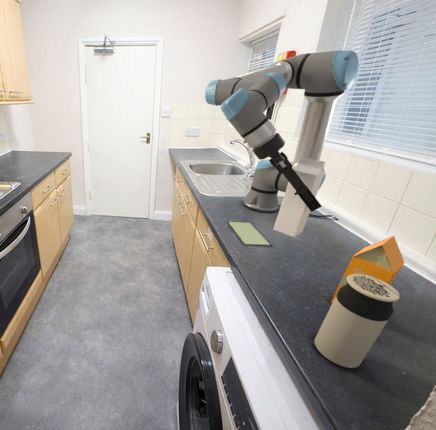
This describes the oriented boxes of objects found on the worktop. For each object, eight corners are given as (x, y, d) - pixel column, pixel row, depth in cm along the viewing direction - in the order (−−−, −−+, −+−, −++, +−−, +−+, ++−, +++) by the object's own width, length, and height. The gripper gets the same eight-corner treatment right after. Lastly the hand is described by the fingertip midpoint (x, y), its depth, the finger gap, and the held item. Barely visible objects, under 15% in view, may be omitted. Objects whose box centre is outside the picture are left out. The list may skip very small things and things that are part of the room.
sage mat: (249, 223, 113) (249, 222, 113) (270, 245, 97) (270, 244, 96) (228, 222, 113) (228, 221, 113) (245, 244, 97) (245, 243, 97)
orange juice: (378, 307, 69) (417, 242, 61) (366, 321, 65) (406, 252, 56) (342, 290, 75) (373, 228, 67) (329, 301, 71) (360, 237, 62)
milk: (294, 238, 77) (321, 163, 67) (272, 229, 81) (295, 158, 71) (302, 232, 80) (329, 160, 71) (281, 224, 84) (304, 155, 75)
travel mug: (325, 365, 54) (363, 297, 46) (307, 333, 61) (336, 270, 53) (369, 372, 53) (415, 304, 45) (345, 339, 60) (381, 275, 52)
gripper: (248, 143, 84) (290, 197, 86) (255, 157, 66) (307, 225, 68) (271, 127, 80) (314, 184, 82) (285, 136, 62) (340, 209, 64)
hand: (311, 202), depth 75 cm, fingers closed on milk, 8 cm apart
